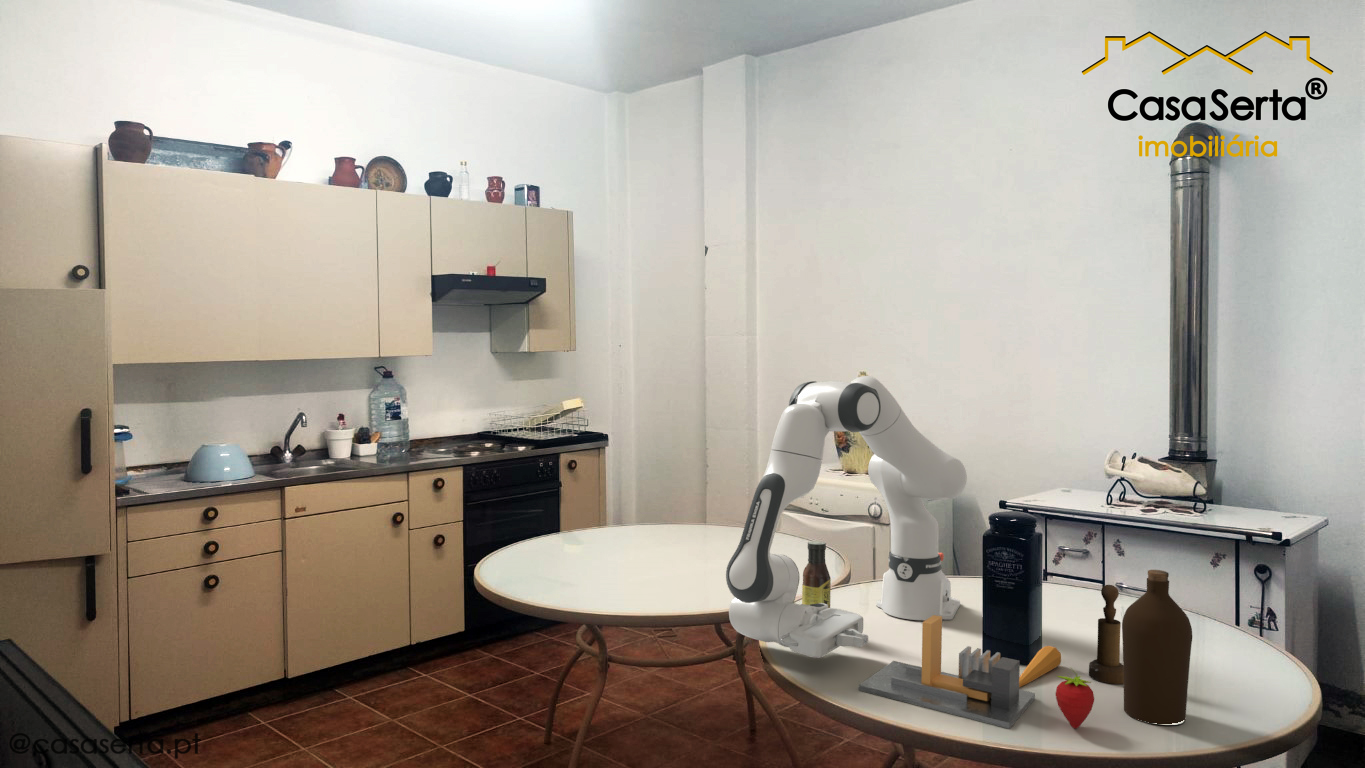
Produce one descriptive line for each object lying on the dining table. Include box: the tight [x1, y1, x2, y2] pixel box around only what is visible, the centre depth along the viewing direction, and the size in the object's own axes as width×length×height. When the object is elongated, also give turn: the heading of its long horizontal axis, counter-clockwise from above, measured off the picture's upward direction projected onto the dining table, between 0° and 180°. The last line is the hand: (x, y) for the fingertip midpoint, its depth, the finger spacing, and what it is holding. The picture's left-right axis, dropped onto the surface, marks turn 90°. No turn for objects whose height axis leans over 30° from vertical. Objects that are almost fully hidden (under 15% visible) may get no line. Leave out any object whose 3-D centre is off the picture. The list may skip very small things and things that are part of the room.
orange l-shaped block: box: [921, 615, 992, 701], centre depth 157 cm, size 6×12×12 cm, turn 54°
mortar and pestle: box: [1088, 584, 1124, 685], centre depth 167 cm, size 7×6×18 cm
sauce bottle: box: [801, 540, 832, 608], centre depth 194 cm, size 7×6×20 cm
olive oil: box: [1121, 569, 1193, 724], centre depth 150 cm, size 11×11×25 cm
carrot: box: [1019, 645, 1062, 688], centre depth 168 cm, size 20×4×4 cm, turn 136°
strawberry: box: [1054, 666, 1095, 729], centre depth 145 cm, size 6×8×10 cm
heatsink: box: [858, 645, 1036, 729], centre depth 159 cm, size 16×27×8 cm, turn 54°
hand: (865, 641), depth 168 cm, fingers closed
